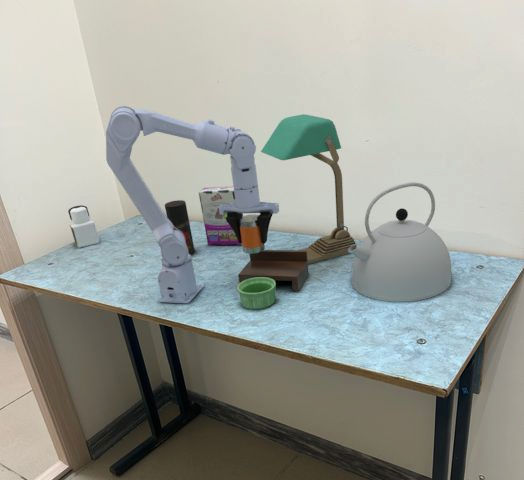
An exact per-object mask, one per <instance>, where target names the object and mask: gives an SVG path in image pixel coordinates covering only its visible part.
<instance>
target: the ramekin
mask: <svg viewBox="0 0 524 480" xmlns="http://www.w3.org/2000/svg"><path fill="white" fill-rule="evenodd" d="M276 285H277V283H276V280H273V279H271V278H267V277H255V278H250V279H247V280H244V281H242V282H241V283H239V282H238V284H237V287H236V289H237V292H238V296H239V298H240V299H239V300H240V303H241V305H242V306H243V307H244V308H246V309H249V310H250V309H251V310H261V309H265V308H268V307H271V306H272V305H273V304H274V303H275V302H276Z"/></svg>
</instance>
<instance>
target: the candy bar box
mask: <svg viewBox="0 0 524 480" xmlns="http://www.w3.org/2000/svg"><path fill="white" fill-rule="evenodd" d="M198 197H199V202H200V207H201V208H200V209H201V213H202V219H203V224H204V230H205V236H206V242H207V246H242V243H239V242H238V240H237V237H236V235H235V233H234V231H233V229H232V228H231V226H230V225H229V223H228V222H227V221H226V217H227V214H224V215H220V212H219V206H220V205H222V204H232V203H236V201H235V194H234V187H233V185H232V186H231V185H230V186H211V187H204V188H202V189H201V190H199V191H198ZM243 216H244V213H242V217H243Z"/></svg>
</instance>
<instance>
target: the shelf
mask: <svg viewBox="0 0 524 480" xmlns="http://www.w3.org/2000/svg"><path fill="white" fill-rule="evenodd" d="M309 275H310V273H309V264H308V259H307V250H300V249H264V250H263V251H261V252H259V253H253V254H249V261H248V262H247V263H246V264H245V266H244V267H243V268H242V269H241V270H240V272H239V273H238V274H237V277H238V284H239V283H241V282H242V281H244V280H247V279H250V278H255V277H267V278H271V279H273V280H274V281H290V282H291V285H292V292H297V293H298V292H299V291H300V290H301V289H302V287H303V285H304V283H305V281H306V280H307V278H308V276H309Z"/></svg>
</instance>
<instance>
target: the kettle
mask: <svg viewBox="0 0 524 480" xmlns="http://www.w3.org/2000/svg"><path fill="white" fill-rule="evenodd" d="M410 187H418V188H421V189H423V190H424V191H426V192H427V194H428V195H429V198H430V204H431V208H430V214H429V215H428V218H427V220H426V221H425V223H423V222H419V221H416V220H412V219H407V218H408V216H409V213H408V210H407V209H405V208H399V209H397V210H396V212H395V219H396V220H389V221H387V222H385V223H383V224H381V225H379V226H378V227H376V228H375V229H373V230H372V231H371V228H370V214H371V211H372V208H373V207H374V206H375V204H376V203H377V202H378V201H379V200H380V199H381V198H382V197H384V196H385V195H388V194H389V193H392V192H394V191H396V190H401V189H404V188H410ZM435 210H436V200H435V195H434V192H432V189H430V187H428V186H427V185H425V184H424V183H421V182H415V181H414V182H405V183H402V184H398V185H395V186H392V187H389V188H387V189H385V190H383V191H381V192H380V193H379V194H377V195H376V196H375V197H374V198H373V199H372V201H370V203H369V205H368V207H367V209H366V212H365V217H364V227H365V231H366V233H367V236H365V238H364V239H363V240H362V241H361V243H360V244H358V243H356V244H355V245H352V246H351V247H350V248H349V249H348V252H350V253H349V254H351V255H352V256H354V258H353V262H352V271H351V273H352V279H351V283H352V287H353V288H354V290H355V291H357V293H359V294H361V295H363V296H365V297H368V298H371V299H373V300H378V301H383V302H384V301H385V302H392V303H393V302H394V303H397V302H398V303H399V302H400V303H402V302H403V303H405V302H406V303H407V302H415V301H422V300H427V299H429V298H434V297H436V296H438V295H440V294H442V293H443V292H445V291H446V290H447V289H448V288H449V287H450V286H451V284H452V259H451V255H450V252H449V249H448V247H447V245H446V243H445V241H444V240H443V239H442V237H441V236H440V235H439V234H438V233H437V232H436V231H435V230H434V229H432V228H431V227H429V226H430V223H431V222H432V220H433V218H434V215H435V212H436V211H435Z"/></svg>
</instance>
